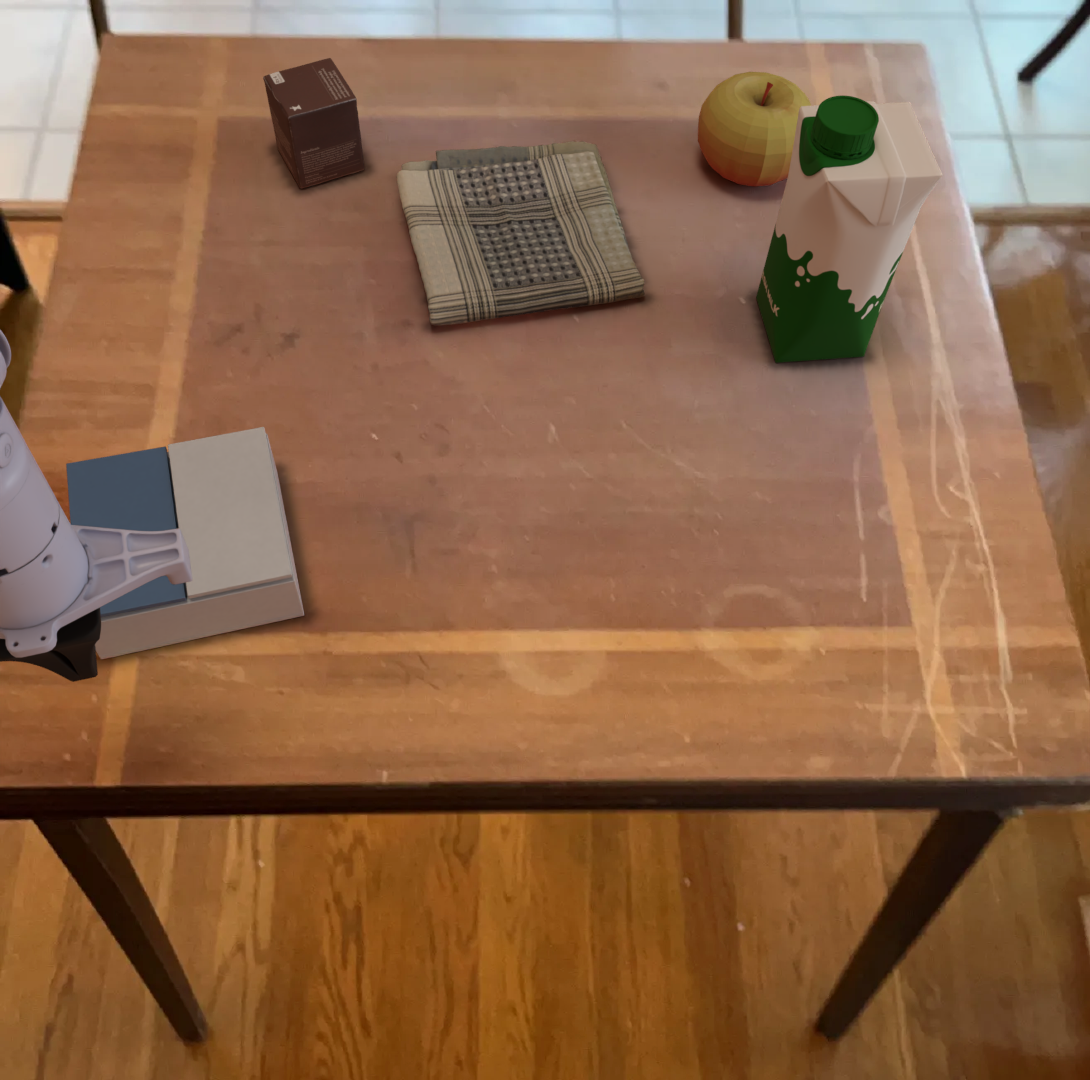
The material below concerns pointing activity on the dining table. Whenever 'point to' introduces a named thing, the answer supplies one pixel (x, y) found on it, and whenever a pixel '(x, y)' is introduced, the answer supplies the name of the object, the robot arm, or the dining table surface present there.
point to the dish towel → (516, 231)
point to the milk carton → (842, 225)
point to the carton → (220, 547)
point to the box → (315, 122)
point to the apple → (751, 127)
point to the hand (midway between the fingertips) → (83, 663)
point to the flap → (127, 511)
